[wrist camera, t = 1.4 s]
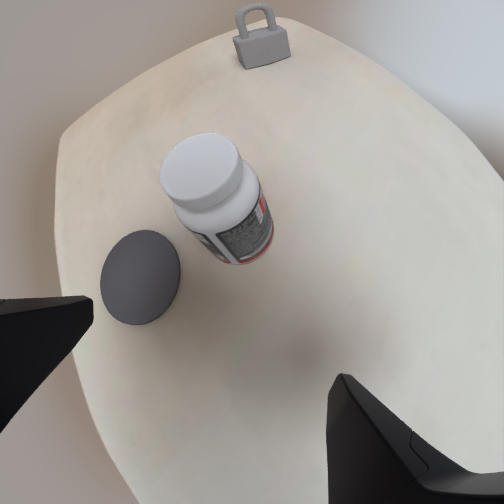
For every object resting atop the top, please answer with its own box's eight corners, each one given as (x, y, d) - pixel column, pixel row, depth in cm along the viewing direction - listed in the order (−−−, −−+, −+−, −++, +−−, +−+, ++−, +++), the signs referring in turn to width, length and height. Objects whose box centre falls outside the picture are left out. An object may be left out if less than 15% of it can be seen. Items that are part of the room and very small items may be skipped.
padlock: (281, 49, 33) (270, -4, 23) (293, 58, 31) (283, 0, 22) (238, 61, 33) (221, 8, 24) (247, 71, 32) (229, 13, 22)
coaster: (179, 325, 21) (175, 324, 21) (101, 323, 23) (97, 322, 22) (182, 226, 25) (180, 223, 24) (109, 238, 26) (106, 236, 26)
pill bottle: (273, 201, 23) (249, 118, 14) (275, 264, 22) (249, 200, 12) (211, 208, 25) (161, 137, 15) (207, 268, 23) (143, 215, 14)
